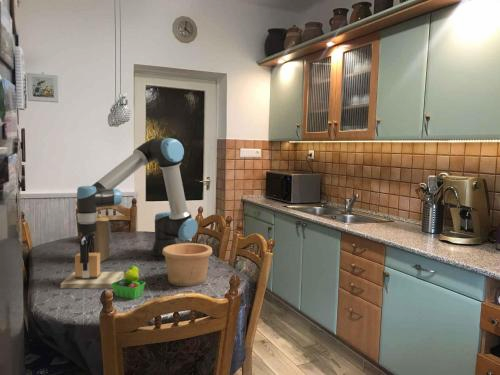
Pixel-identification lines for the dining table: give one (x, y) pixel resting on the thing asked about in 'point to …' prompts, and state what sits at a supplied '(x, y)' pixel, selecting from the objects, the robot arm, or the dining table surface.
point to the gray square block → (59, 280)
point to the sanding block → (93, 266)
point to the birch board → (93, 281)
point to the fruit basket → (129, 284)
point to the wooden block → (102, 239)
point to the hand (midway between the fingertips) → (87, 275)
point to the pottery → (187, 263)
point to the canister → (100, 218)
